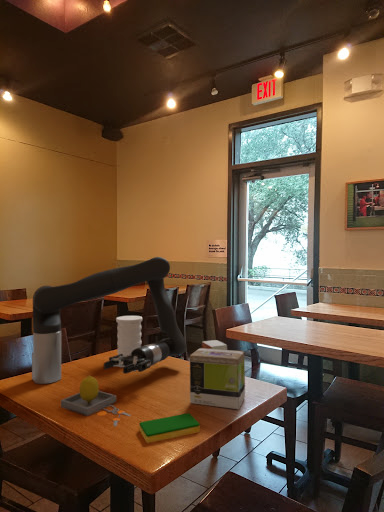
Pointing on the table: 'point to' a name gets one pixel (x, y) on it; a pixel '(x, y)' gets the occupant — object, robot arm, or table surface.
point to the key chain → (113, 413)
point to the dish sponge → (168, 427)
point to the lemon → (89, 389)
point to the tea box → (217, 378)
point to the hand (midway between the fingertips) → (114, 368)
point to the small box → (214, 345)
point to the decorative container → (128, 334)
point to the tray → (86, 408)
